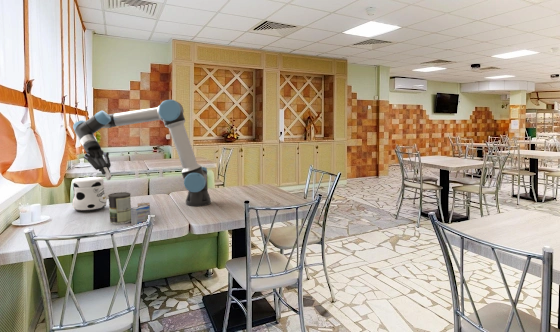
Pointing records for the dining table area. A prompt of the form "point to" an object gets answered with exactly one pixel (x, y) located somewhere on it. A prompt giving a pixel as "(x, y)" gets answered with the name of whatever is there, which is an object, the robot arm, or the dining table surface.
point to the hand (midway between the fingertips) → (109, 178)
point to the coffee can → (120, 207)
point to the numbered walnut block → (143, 204)
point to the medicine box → (139, 214)
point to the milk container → (89, 194)
